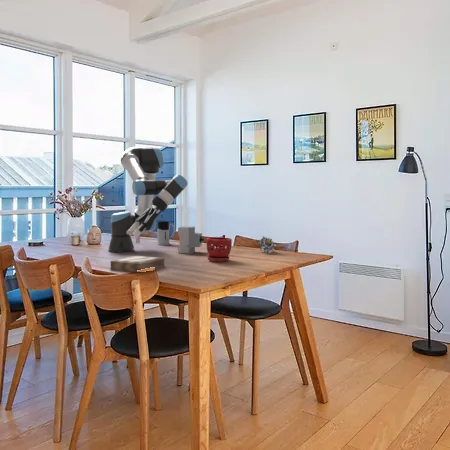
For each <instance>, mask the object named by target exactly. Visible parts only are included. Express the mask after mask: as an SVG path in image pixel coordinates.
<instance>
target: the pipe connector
mask: <svg viewBox="0 0 450 450" xmlns="http://www.w3.org/2000/svg"><path fill="white" fill-rule="evenodd" d="M138 227H139V222H136V229H137V228H138ZM134 232H135V230H131V231H127V234H132V235H133V233H134ZM141 235H149V232H148V230H144V231H143V232H142V233H141V234H140V235H139V236H138V237H137V238H136V237H135V244H140V243H141V241H140V240H141V237H140V236H141Z"/></svg>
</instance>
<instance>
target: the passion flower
mask: <svg viewBox="0 0 450 450" xmlns="http://www.w3.org/2000/svg"><path fill="white" fill-rule="evenodd" d="M256 243H257V244H258V246H259V249H260V250H263V251H264V253H267V254H269V255H270V254H271V251H272V252H275V247H277V244H275V242H274V241H273V240H272V238H270V237H265V236H264V235H263V236H262V238H261V239H257V240H256Z"/></svg>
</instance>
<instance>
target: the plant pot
mask: <svg viewBox="0 0 450 450" xmlns="http://www.w3.org/2000/svg"><path fill="white" fill-rule="evenodd" d="M232 243H233V241H232V238H231V237H222V236H221V237H218V236H214V237H213V236H212V237H210V236H209V237H207V238H206V250H207V253H208V256H207V260H208V261H210V262H212V263H213V262H217V263H218V262H219V263H222V262H223V263H224V262H227V261H229V260H230V256H229V255H230V254H231V249H232Z"/></svg>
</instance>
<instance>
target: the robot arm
mask: <svg viewBox="0 0 450 450" xmlns="http://www.w3.org/2000/svg"><path fill="white" fill-rule="evenodd" d="M120 157H121V158H120V162H121V163H120V164H121V165H122V167H123V169H124V170H125V171H127V172H128V174H129V177H130V178H131V180H132V183H131V184H132V187H131V188H132V192H133V193H132V194H134V195H136V196H138V201H137V208H135V210H134V213H132V212H131V211H120V212H115V213H112V214H111V215H110V230H111V232H110V234H111V238H110V242H109V245H108V251H109V252H113V253H123V252H124V253H126V252H133V251H135V245H134V243H133V240H132V236H134V237H135V239H136V238H137V237H138V236H139V235H140V236H141V235H142V234H141V233H142V232H143V231H144V230H148V233H151V232H153V231H154V230H155V229H156V227H157V218H158V216H159V215H160V214H161V213H162V212H164V211H166V209H167V208H168V206H170V205H171V204H173V203H174V202H173V201H175V199H176V198H177V197H178V196H179V195H180V194H181V193H182V192H183V191H184V190H185V189H186V188H187V186H188V183H189V182H188V180H187V179H186V178H185V177H184V176H182V175H181V174H176V175H175V176H173V178H172V179H156V177H157V174H158V173H159V172H160V169H162V168H163V166H164V156H163V153H162V150H161V149H160V148H158V147H148V146H147V147H142V146H139V147H138V146H132V147H129V148H128V149H126V150H125V151H124V152H123V153H122V155H121V156H120ZM154 196H155V197H154ZM136 222H139V227H138V228H137V229H136ZM131 230H135V232H134V233H133V234H127V231H131Z"/></svg>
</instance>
